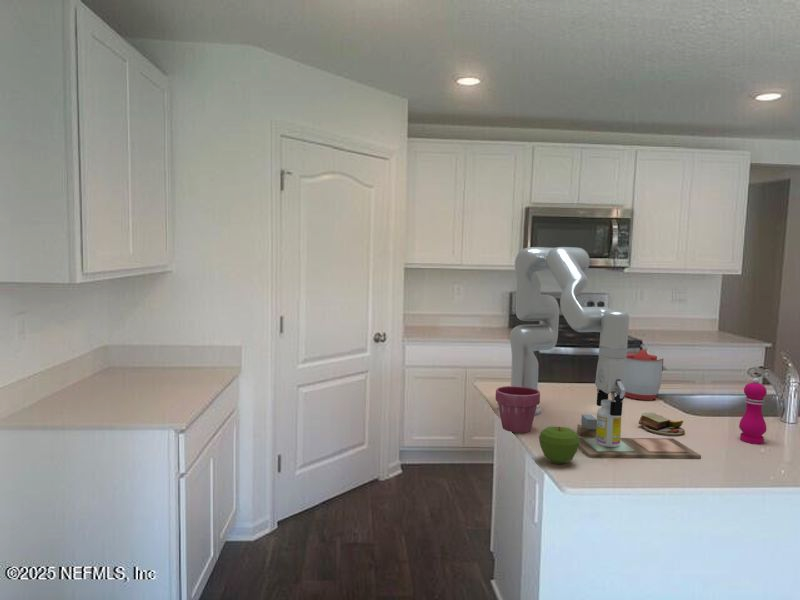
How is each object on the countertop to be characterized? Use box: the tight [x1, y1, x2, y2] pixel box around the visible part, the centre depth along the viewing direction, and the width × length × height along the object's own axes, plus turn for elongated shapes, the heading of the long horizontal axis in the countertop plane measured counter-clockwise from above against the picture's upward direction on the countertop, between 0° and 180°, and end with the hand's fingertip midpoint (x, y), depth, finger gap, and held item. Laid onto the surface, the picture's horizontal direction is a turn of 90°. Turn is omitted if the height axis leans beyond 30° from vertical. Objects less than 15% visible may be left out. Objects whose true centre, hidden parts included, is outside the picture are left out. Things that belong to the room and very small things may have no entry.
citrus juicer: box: [624, 348, 667, 401], centre depth 230 cm, size 16×17×20 cm
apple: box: [538, 425, 580, 465], centre depth 153 cm, size 11×10×10 cm
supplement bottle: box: [595, 399, 622, 447], centre depth 165 cm, size 7×7×13 cm
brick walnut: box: [576, 424, 597, 438], centre depth 179 cm, size 6×3×3 cm, turn 89°
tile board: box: [578, 436, 702, 460], centre depth 166 cm, size 32×15×1 cm, turn 92°
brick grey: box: [580, 413, 597, 429], centre depth 178 cm, size 6×3×3 cm, turn 178°
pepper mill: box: [738, 377, 768, 445], centre depth 176 cm, size 7×7×20 cm
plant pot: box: [495, 385, 541, 434], centre depth 183 cm, size 14×14×13 cm
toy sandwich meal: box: [638, 412, 686, 437], centre depth 186 cm, size 12×14×5 cm
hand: (608, 410), depth 165 cm, fingers open, 9 cm apart
